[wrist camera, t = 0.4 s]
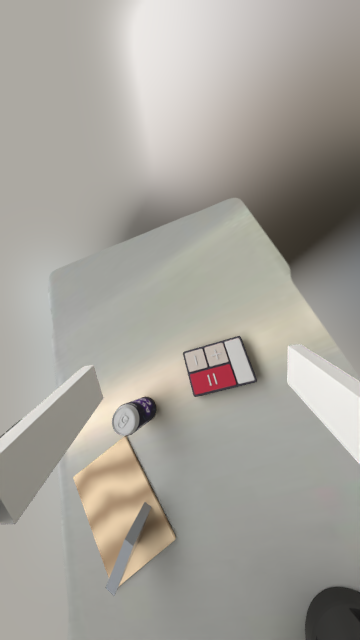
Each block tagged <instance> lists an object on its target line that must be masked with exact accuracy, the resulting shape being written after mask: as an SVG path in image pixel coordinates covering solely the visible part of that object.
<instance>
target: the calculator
mask: <svg viewBox="0 0 360 640" xmlns="http://www.w3.org/2000/svg"><path fill="white" fill-rule="evenodd" d="M183 356H184V360H185V364H186V368H187V372H188V376H189V380H190V383H191V387H192V391H193V395H194V397H197V396H201V395H205V394H209V393H213V392H218V391H222V390H226V389H230V388H234V387H238V386H242V385H246V384H250V383H254V382H257V379H256V376H255V374H254V371H253V368H252V366H251V363H250V360H249V358H248V355H247V352H246V350H245V347H244V344H243V342H242V339H241V337H240V336H237V337H234V338H230V339H227V340H223V341H220V342H216V343H213V344H210V345H206V346H203V347H199V348H196V349H192V350H189V351H185V352H183Z"/></svg>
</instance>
